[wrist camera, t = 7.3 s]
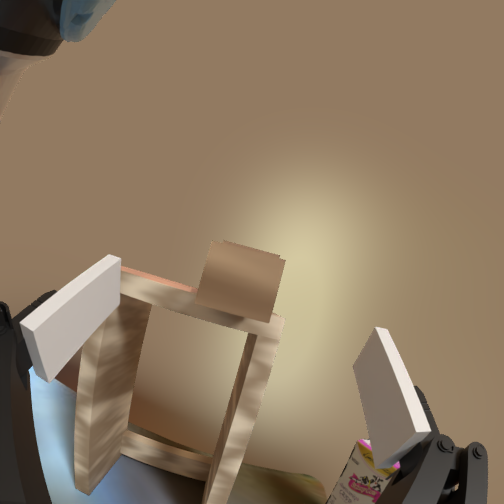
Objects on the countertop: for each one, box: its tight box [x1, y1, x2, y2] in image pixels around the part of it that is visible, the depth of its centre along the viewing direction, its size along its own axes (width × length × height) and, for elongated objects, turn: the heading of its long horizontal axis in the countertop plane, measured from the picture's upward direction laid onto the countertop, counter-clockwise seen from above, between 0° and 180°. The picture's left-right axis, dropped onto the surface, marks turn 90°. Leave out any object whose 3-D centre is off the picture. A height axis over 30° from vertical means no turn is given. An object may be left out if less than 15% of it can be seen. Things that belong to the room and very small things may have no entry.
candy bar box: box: [326, 439, 400, 504], centre depth 22 cm, size 11×5×16 cm, turn 16°
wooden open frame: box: [74, 270, 285, 504], centre depth 29 cm, size 18×14×30 cm
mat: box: [121, 266, 198, 293], centre depth 31 cm, size 8×10×1 cm
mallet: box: [195, 240, 286, 323], centre depth 25 cm, size 24×6×6 cm, turn 3°
